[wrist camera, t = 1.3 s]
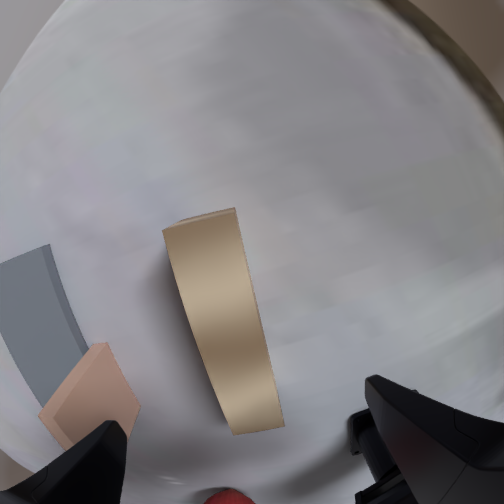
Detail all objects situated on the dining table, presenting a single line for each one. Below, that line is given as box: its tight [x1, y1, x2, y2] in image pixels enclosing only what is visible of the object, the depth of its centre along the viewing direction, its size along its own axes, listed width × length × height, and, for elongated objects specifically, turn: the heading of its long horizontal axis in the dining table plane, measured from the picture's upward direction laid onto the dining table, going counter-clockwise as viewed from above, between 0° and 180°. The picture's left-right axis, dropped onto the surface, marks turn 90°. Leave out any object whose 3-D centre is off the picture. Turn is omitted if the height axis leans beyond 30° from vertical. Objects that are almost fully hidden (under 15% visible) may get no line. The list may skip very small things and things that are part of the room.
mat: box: [0, 244, 89, 408], centre depth 16 cm, size 15×9×1 cm, turn 13°
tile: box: [38, 342, 141, 451], centre depth 13 cm, size 6×2×8 cm, turn 13°
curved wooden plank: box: [162, 207, 285, 435], centre depth 14 cm, size 12×3×4 cm, turn 12°
